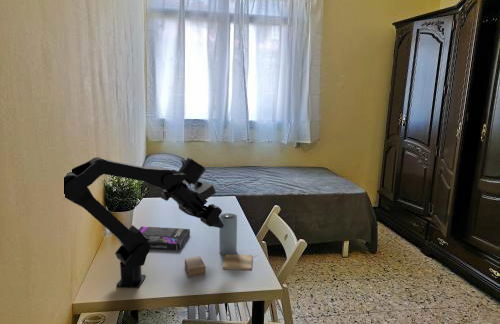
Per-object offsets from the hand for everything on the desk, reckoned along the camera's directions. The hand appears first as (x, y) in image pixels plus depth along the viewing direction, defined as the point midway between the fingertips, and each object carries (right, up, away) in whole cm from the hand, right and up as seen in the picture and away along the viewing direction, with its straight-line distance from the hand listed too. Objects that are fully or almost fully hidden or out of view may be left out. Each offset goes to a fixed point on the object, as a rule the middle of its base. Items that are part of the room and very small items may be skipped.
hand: (214, 222), depth 119 cm
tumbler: (+4, -11, +5) cm, 13 cm away
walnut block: (-5, -14, -8) cm, 17 cm away
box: (-22, -10, +13) cm, 27 cm away
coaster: (+8, -13, -3) cm, 15 cm away
